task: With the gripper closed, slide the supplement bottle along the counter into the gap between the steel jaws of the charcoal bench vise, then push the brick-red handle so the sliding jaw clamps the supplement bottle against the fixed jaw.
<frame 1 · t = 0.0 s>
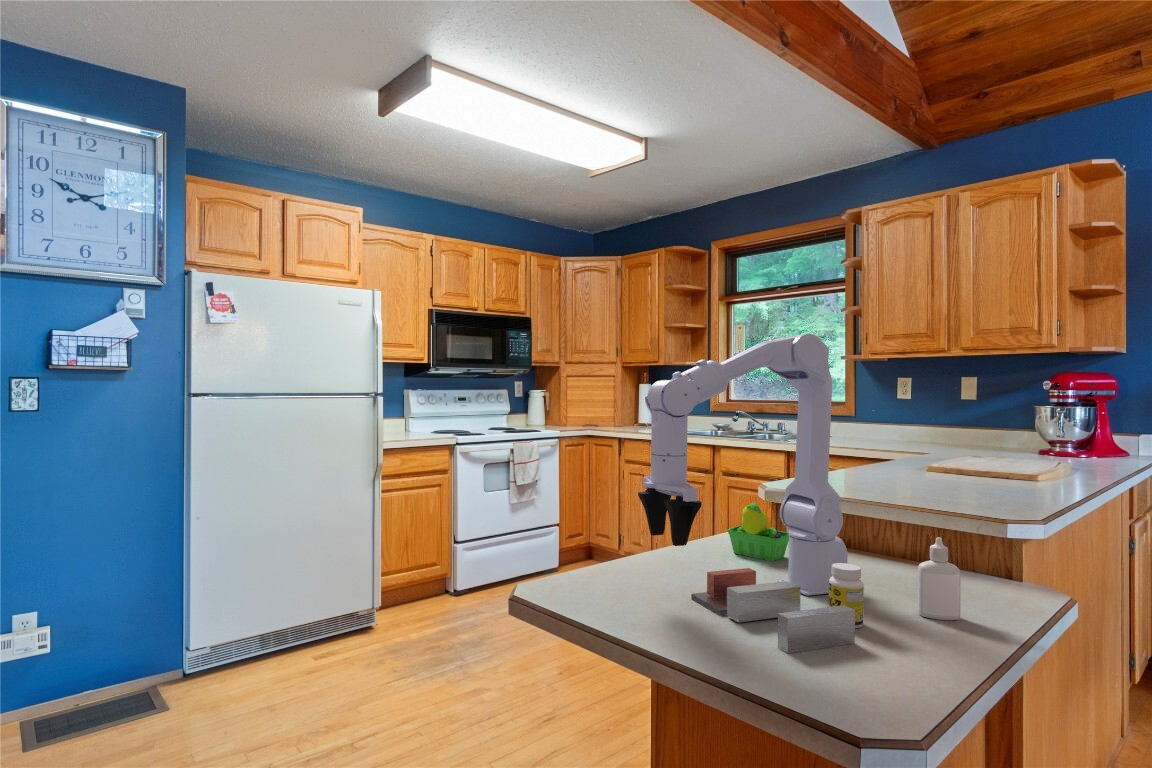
hand: (667, 539, 103), 10 cm above the table, fingers open, 7 cm apart
fixed jaw: (816, 628, 86), on the table
supplement bottle: (845, 624, 95), on the table
eye dropper bottle: (938, 618, 98), on the table
fruit basket: (757, 557, 135), on the table
sliding jaw: (748, 592, 101), point 2 cm above the table, slide at 0.0 cm
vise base: (737, 600, 103), on the table
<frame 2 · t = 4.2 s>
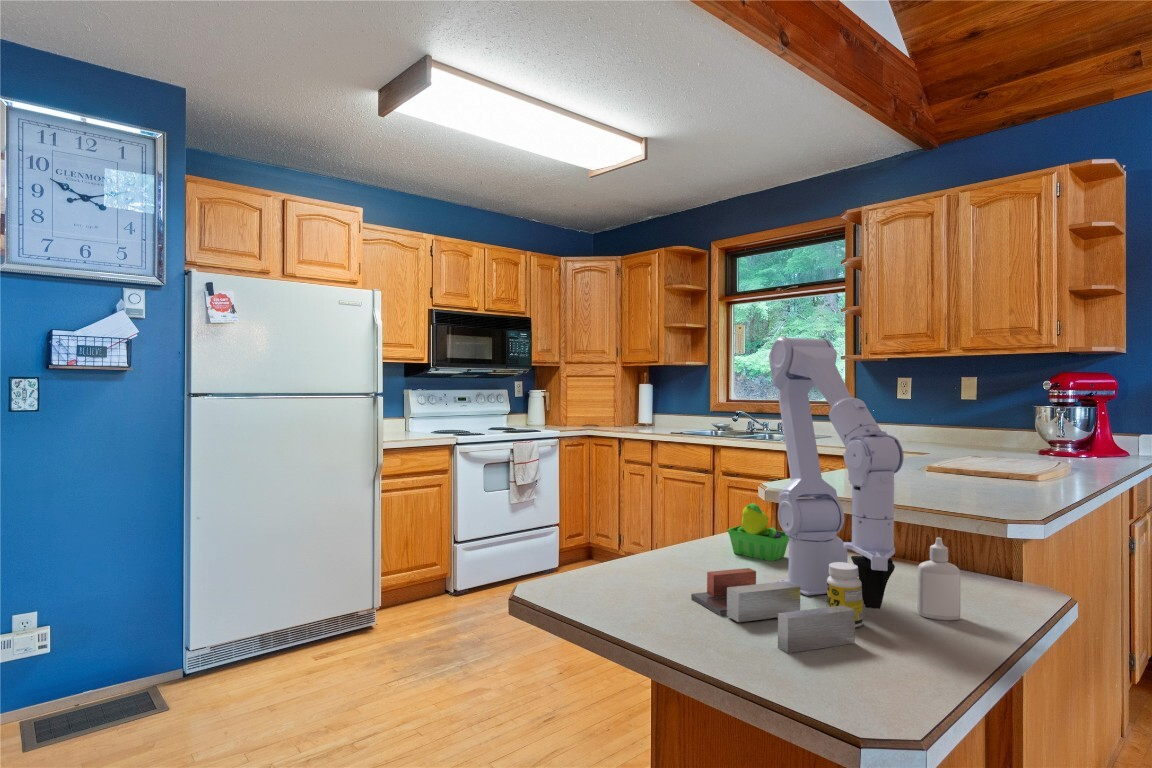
hand: (872, 607, 97), 2 cm above the table, fingers closed
supplement bottle: (845, 623, 95), on the table, touching gripper
everything else where it was.
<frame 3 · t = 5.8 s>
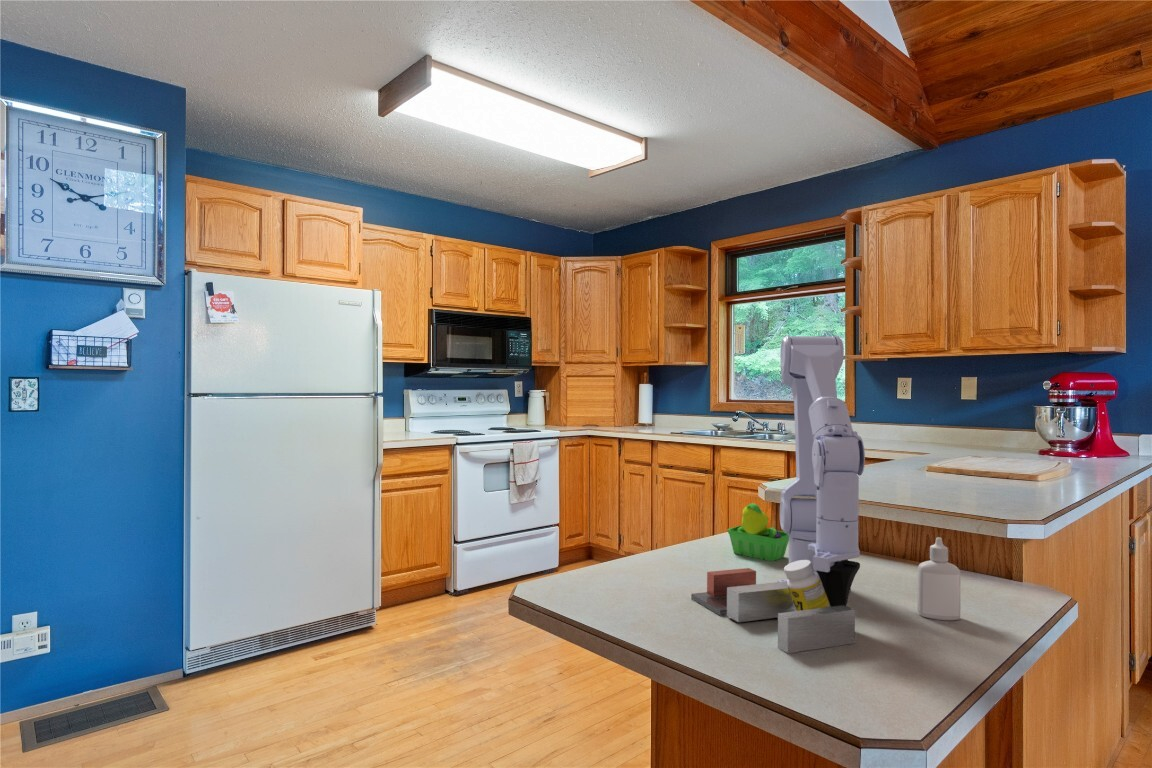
hand: (836, 611, 94), 2 cm above the table, fingers closed, pressing on supplement bottle
supplement bottle: (818, 621, 94), point 1 cm above the table, touching gripper
everything else where it was.
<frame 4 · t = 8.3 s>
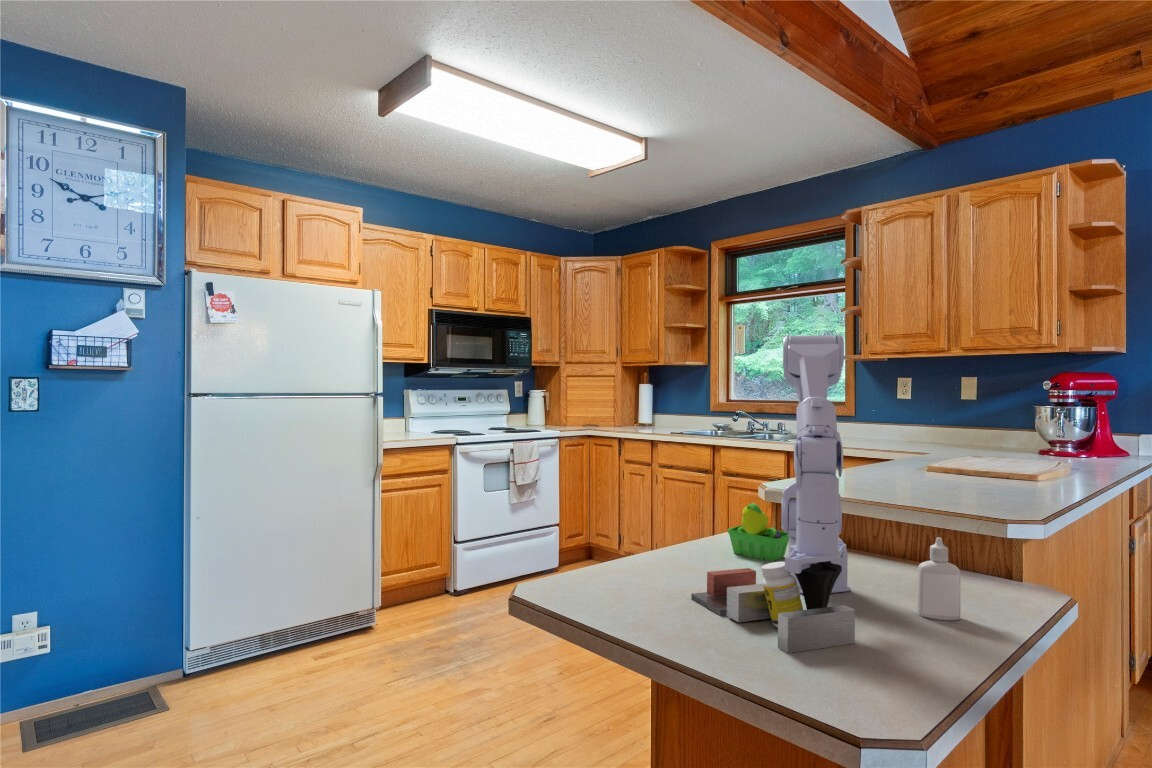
hand: (816, 614, 93), 2 cm above the table, fingers closed
supplement bottle: (789, 624, 93), on the table, touching gripper
everything else where it was.
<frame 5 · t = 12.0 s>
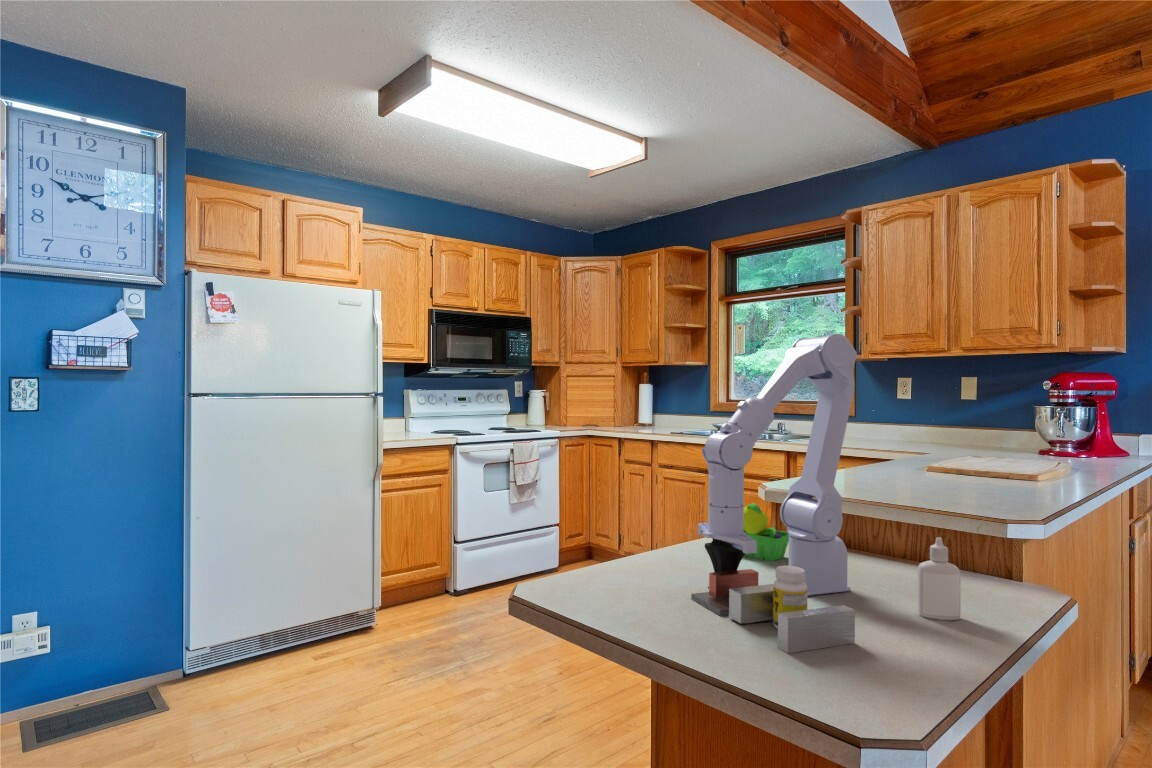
hand: (725, 587, 107), 1 cm above the table, fingers closed
supplement bottle: (789, 628, 93), on the table
sliding jaw: (750, 594, 100), point 2 cm above the table, slide at 0.6 cm, touching gripper
everything else where it was.
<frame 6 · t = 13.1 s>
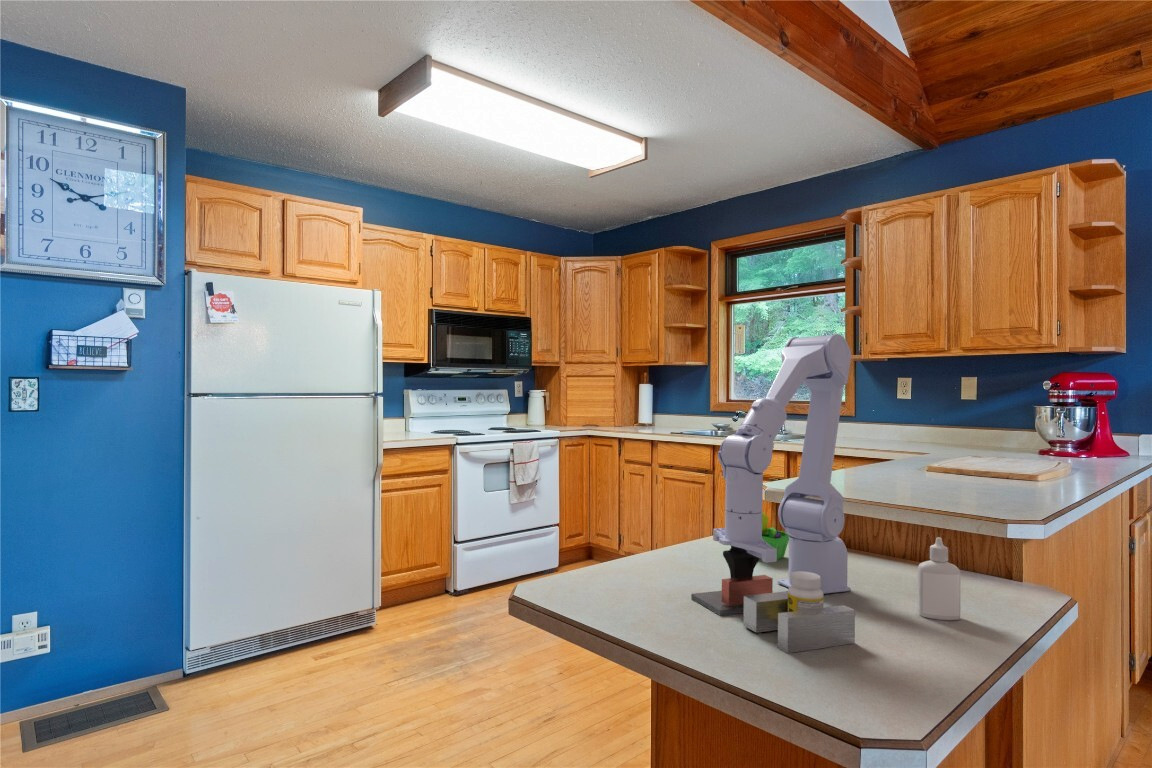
hand: (742, 596, 102), 1 cm above the table, fingers closed, pressing on sliding jaw
supplement bottle: (805, 637, 90), on the table, touching fixed jaw, sliding jaw
sliding jaw: (764, 601, 97), point 2 cm above the table, slide at 4.3 cm, touching supplement bottle, gripper
everything else where it was.
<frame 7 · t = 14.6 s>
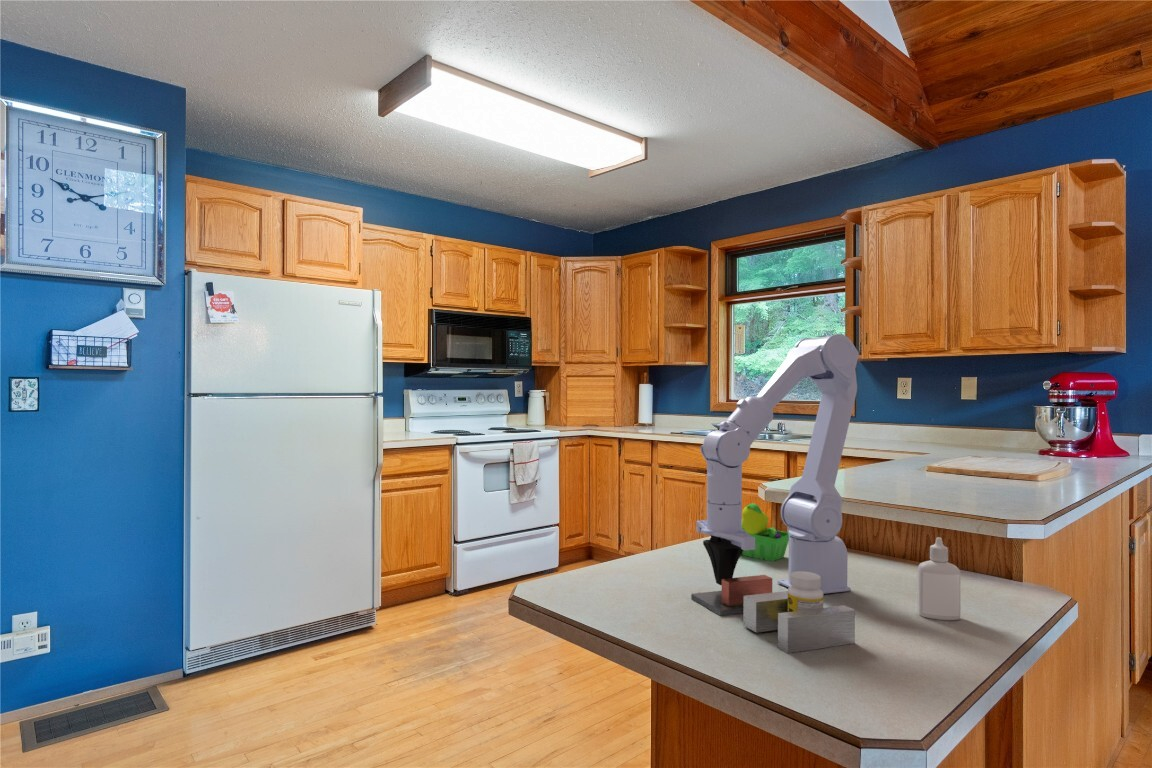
hand: (723, 583, 108), 2 cm above the table, fingers closed
sliding jaw: (764, 601, 97), point 2 cm above the table, slide at 4.2 cm, touching supplement bottle
everything else where it was.
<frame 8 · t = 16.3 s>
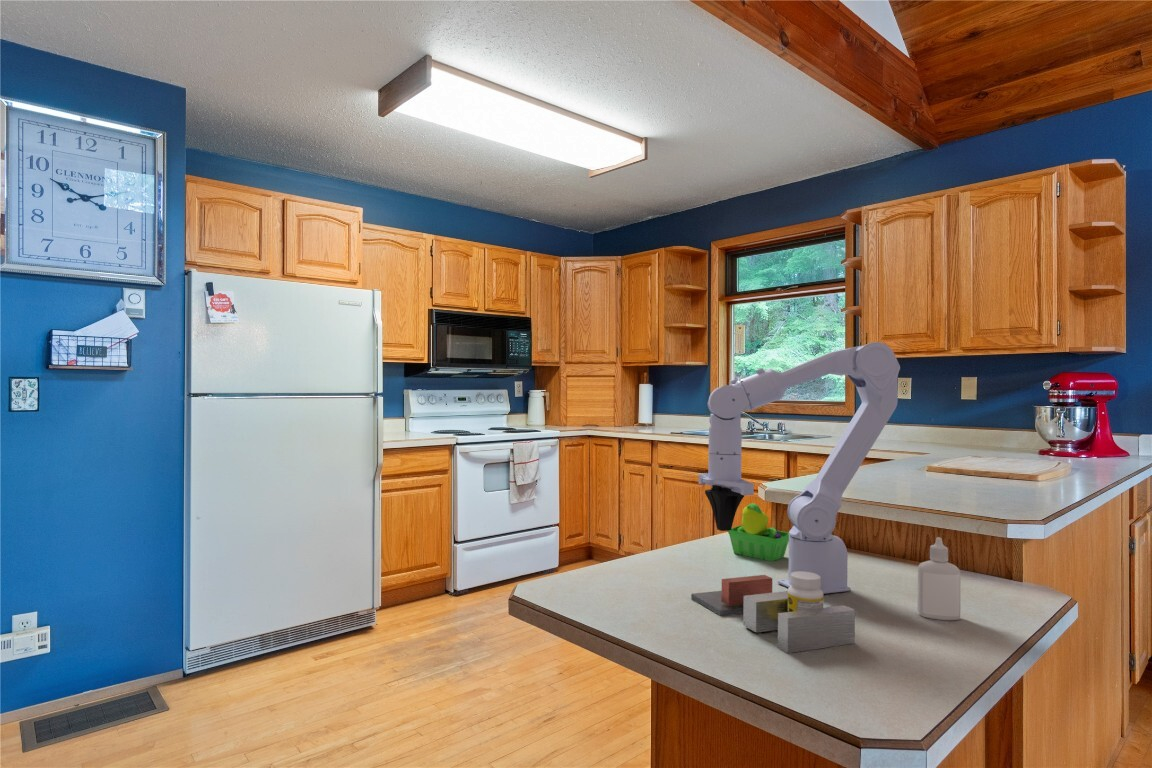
hand: (724, 530, 115), 9 cm above the table, fingers closed
nothing on the table moved.
at the end: sliding jaw slide at 4.2 cm; supplement bottle inside the target area (0.9 cm from its centre), on the table; supplement bottle tilted 0° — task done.
